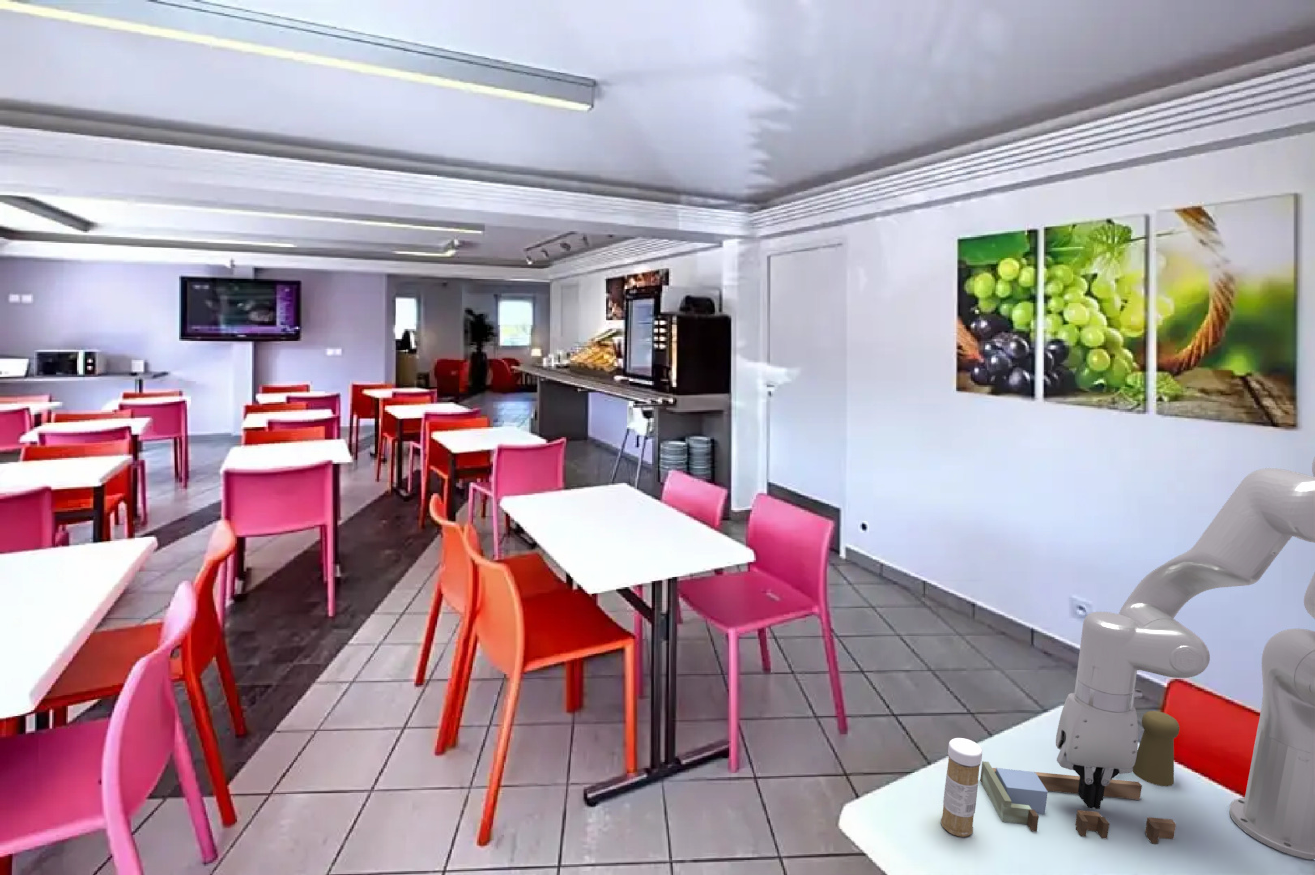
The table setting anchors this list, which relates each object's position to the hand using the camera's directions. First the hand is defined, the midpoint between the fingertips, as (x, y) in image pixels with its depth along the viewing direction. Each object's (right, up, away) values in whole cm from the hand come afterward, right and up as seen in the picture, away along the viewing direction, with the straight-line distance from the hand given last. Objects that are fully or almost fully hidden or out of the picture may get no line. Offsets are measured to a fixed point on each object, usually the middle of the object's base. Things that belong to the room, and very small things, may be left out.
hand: (1089, 802), depth 111 cm
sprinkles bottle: (-23, -1, -5) cm, 24 cm away
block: (-10, -1, +2) cm, 10 cm away
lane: (-3, -1, 0) cm, 3 cm away
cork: (+17, -1, +10) cm, 20 cm away
